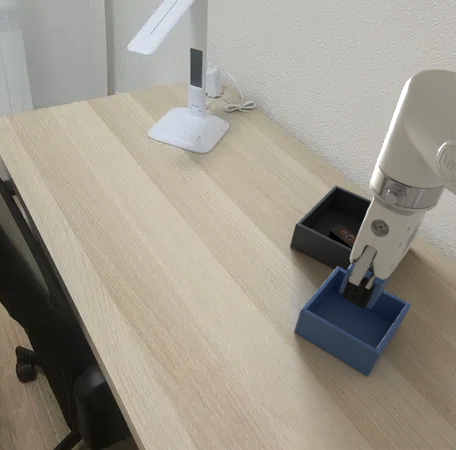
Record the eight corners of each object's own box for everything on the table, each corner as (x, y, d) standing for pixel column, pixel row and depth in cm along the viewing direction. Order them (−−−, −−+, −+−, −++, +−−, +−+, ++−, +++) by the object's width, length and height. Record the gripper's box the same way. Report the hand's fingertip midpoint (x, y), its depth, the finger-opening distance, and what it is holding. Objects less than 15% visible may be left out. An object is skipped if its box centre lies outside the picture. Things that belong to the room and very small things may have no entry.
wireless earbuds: (356, 270, 88) (361, 255, 86) (324, 243, 92) (329, 229, 90) (376, 260, 90) (382, 245, 87) (344, 234, 94) (349, 220, 92)
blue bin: (400, 326, 80) (411, 304, 77) (367, 377, 73) (378, 354, 70) (329, 288, 85) (337, 265, 82) (293, 332, 79) (300, 309, 75)
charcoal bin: (404, 242, 94) (414, 219, 91) (370, 288, 86) (379, 265, 82) (328, 206, 101) (335, 184, 97) (289, 246, 92) (295, 223, 89)
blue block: (384, 290, 74) (395, 266, 71) (370, 309, 72) (380, 286, 69) (353, 273, 77) (362, 250, 74) (338, 292, 74) (347, 268, 71)
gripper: (412, 234, 55) (361, 344, 67) (465, 162, 65) (412, 270, 77) (343, 202, 59) (306, 312, 71) (403, 139, 69) (362, 245, 81)
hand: (362, 289), depth 74 cm, fingers closed on blue block, 4 cm apart
